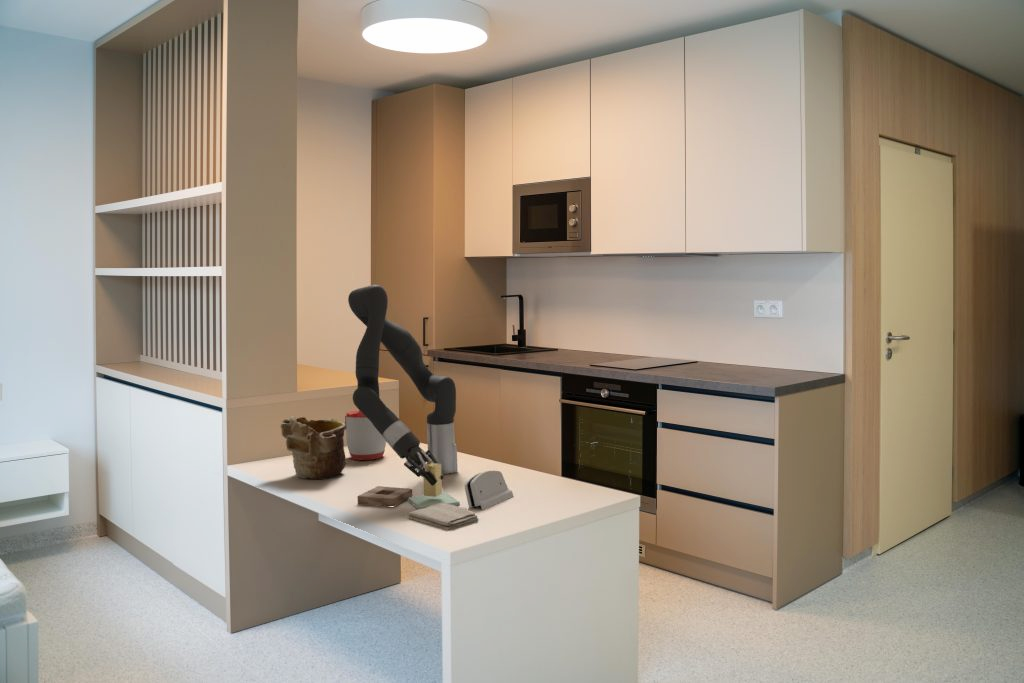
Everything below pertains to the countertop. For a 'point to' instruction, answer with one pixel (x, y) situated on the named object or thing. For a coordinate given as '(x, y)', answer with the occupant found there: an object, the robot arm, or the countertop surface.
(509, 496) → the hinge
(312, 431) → the ceramic vessel
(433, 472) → the peg
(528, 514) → the countertop surface
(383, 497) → the socket base
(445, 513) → the washcloth
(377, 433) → the citrus juicer
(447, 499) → the mat
